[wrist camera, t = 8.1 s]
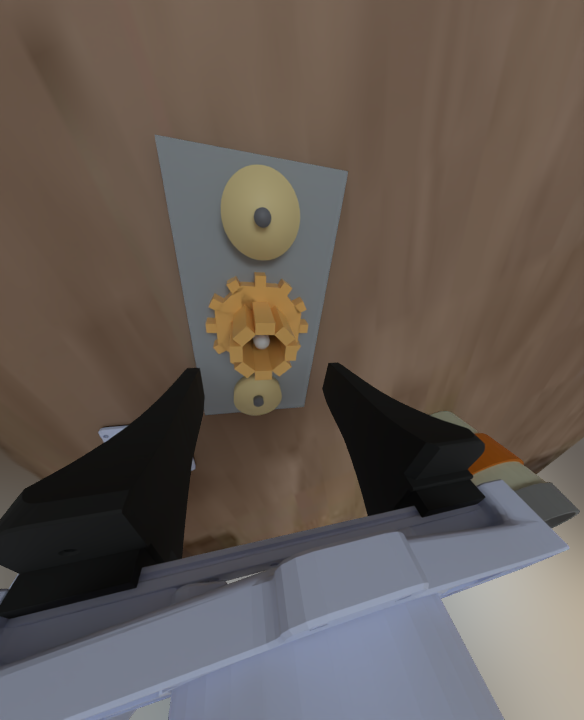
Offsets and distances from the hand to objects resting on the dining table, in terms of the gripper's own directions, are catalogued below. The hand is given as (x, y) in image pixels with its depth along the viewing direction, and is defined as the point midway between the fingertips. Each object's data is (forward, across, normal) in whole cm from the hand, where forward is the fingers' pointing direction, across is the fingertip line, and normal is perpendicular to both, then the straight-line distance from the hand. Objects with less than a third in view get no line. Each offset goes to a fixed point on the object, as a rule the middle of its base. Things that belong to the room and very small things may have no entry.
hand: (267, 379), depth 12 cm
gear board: (+8, 0, 0) cm, 8 cm away
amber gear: (+7, 0, 0) cm, 7 cm away
